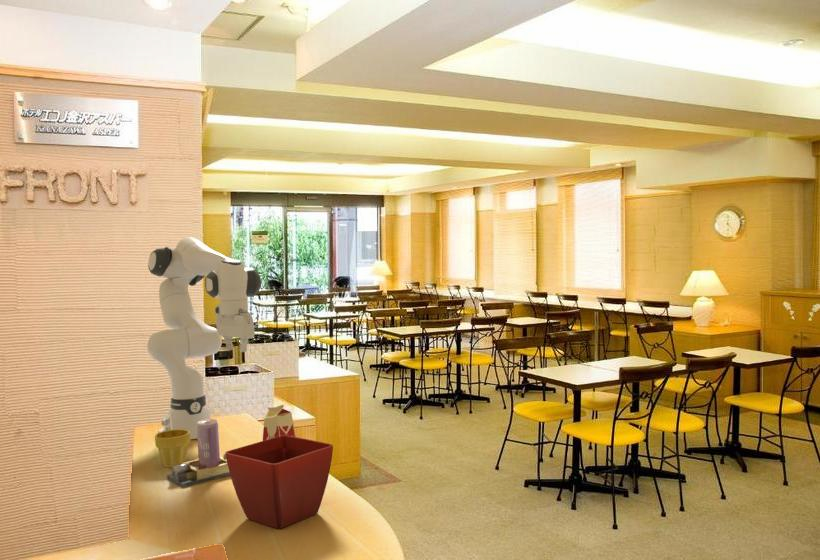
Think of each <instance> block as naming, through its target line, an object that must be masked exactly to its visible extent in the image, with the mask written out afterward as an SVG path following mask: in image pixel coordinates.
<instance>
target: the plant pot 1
mask: <svg viewBox="0 0 820 560" xmlns="http://www.w3.org/2000/svg"><path fill="white" fill-rule="evenodd" d="M154 441H155V444H154V445H155V447H156V448H157V449H158V453H159V456H160V460H161V464H162V466H163V467H164V468H173V466H176V465H181V463H184V462H186V458H187V454H188V453H187V452H188V448H189V444H190V443H191V439H190V431H188V430H185V429H174V430H167V431H163V432H160V433H158V432H157V433H156V434H155V436H154Z"/></svg>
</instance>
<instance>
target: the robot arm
mask: <svg viewBox="0 0 820 560" xmlns="http://www.w3.org/2000/svg"><path fill="white" fill-rule="evenodd" d="M147 266H148V271H149V272H150V274H152V275H154V276H157V277H163V278H166V279H164V280H162V282H161V283H160V285H159V289H158V298H159V305H160V309H161V314H162V318H163V322H164V324H165V325H166V326H167V327H168V328H170V329H165V330H160V331H156V332H154V333H152V334H151V335H150V337H149V338H148V341H147V344H146V347H147V348H146V349H147V352H148V354H149V355H150V357H151V358H152V359H153V360H155V361H156V362H158V363H160V365H162V366H163V367H164V368H165V370H166V371H167V373H168V376H169V380H170V387H171V394H172V395H171V398H170V409H169V410H168V412H167V413H166V415H165V416H164V418H163V419H161V425H162V426H164V427H161V428H159V429H158V430H157V433H160V432H163V431H167V430H174V429H185V430H188V431H190V440H194V439H195V440H196V439H197V423H198V422H199V421H202V420H208V419H212V417H211V411H210V408H209V407H208V406H206V405H207V397H206V394H205V387H204V386H205V385H204V384H205V383H204V375H203V373H202V372H201V371H200V370H199V369H197V368H194V367H191V366H189V365H187V363H186V360H187V359H196V358H205V357H208V356H211V355H215V354H217V353H218V352H219V351H220V350H221V348H222V343H223V340H224V342H225V346H226V350H233V349H234V344H233V342H232V338H237V339H239V340H240V346H239V352H240V353H246V352H247V351H248V349H247V346H248V343H249V339H254V337H255V335H256V331H255V323H254V318H253V316H252V315H251V313H250V311H249V301H248V298H253V297H254V296H255V295H256V294H257V293H258V292H259V291H260V289H261V287H262V279H261V276H260V274H259V273H258V272H257V270H256V269H255V268H253V267H246V266H245V264H244V262H243V261H242V260H240V259H233V258H232V257H230V256H227V255H224V254H223V253H220V252H218V251H216V250H213V249H212V248H210V247H209V246H208V245H206V244H205V243H204V242H203V241H201V240H199V239H197V238H195V237H190V236H188V237H183V238H182V239H180V240H179V241H178V242H177V245H176V247H175V248H169V247H168V246H165V247H163V248H162V247H161V248H156V249H154V250H153V251H152V252H151V253H150V255H149V258H148V263H147ZM203 278H205V279H204V285H205V286H204V287H205V292H206V293H207V294H208V295H209V296H210V297H212V298H213V299H219V304H218V305H217V306H214V314H215V323H216V328H215V327H213V326H210V325H208V324H206V322H204V321H202V320H201V319H200V318H199V317H198V315H197V314H196V312H195V309H194V306H193V303H192V300H191V299H192V298H191V296H190V293H189V286H191V287H193V286H195V285H197V283H198V282H199V283H200V282H201V281H202V280H203ZM222 336H223V339H222Z"/></svg>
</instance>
